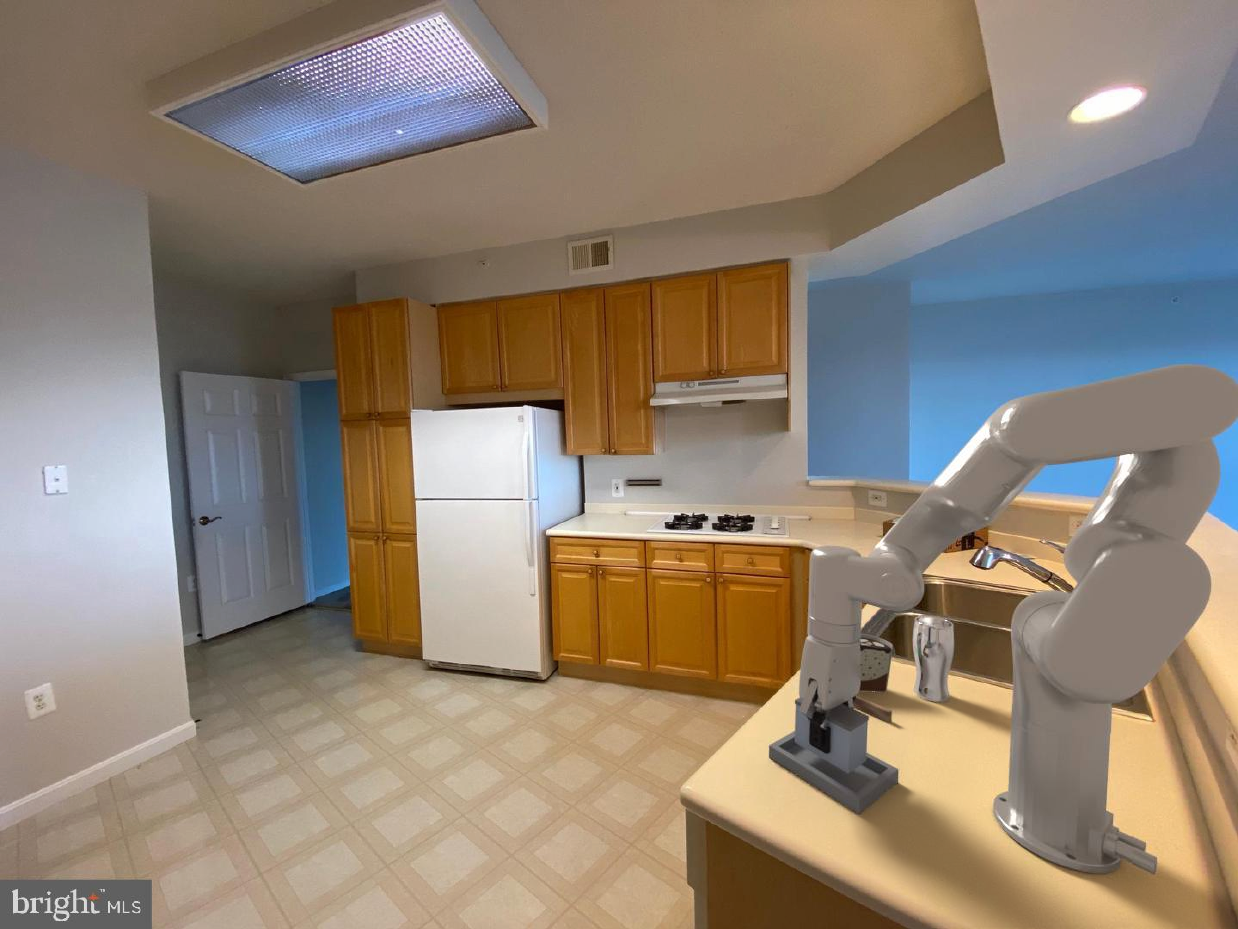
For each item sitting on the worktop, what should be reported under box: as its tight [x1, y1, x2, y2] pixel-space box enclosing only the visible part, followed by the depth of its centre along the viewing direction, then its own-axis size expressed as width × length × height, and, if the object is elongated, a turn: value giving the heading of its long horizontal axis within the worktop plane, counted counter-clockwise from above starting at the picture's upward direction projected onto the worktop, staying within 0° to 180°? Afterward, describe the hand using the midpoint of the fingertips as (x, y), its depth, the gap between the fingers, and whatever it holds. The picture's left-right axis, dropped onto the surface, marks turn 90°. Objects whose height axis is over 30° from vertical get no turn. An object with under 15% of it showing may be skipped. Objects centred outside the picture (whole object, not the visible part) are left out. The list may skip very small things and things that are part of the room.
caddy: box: [794, 697, 870, 773], centre depth 77 cm, size 5×9×7 cm, turn 35°
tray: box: [768, 730, 899, 815], centre depth 78 cm, size 15×11×2 cm
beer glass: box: [912, 615, 955, 703], centre depth 99 cm, size 7×7×15 cm
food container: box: [859, 633, 896, 693], centre depth 104 cm, size 12×6×10 cm, turn 84°
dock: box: [853, 695, 893, 724], centre depth 91 cm, size 10×14×2 cm
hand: (830, 741), depth 78 cm, fingers closed on caddy, 5 cm apart
